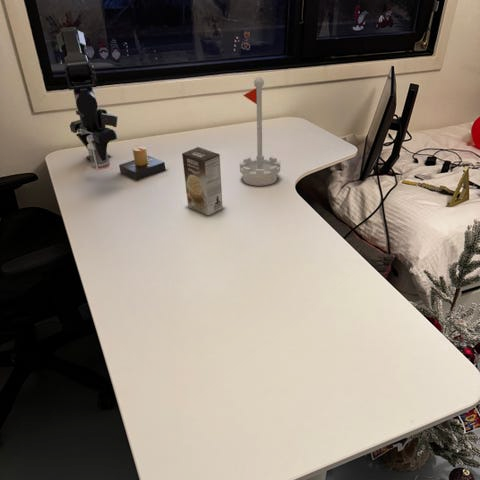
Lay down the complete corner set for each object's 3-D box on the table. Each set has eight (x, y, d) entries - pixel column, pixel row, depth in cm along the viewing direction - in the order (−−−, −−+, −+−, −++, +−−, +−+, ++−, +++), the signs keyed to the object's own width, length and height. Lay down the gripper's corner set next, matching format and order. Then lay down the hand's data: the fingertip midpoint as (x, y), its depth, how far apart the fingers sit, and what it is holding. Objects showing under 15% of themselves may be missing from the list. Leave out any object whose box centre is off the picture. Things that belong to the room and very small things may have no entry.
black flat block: (120, 173, 159) (118, 164, 157) (149, 163, 166) (147, 154, 164) (136, 180, 154) (135, 171, 152) (165, 170, 160) (164, 161, 158)
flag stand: (285, 174, 153) (288, 73, 134) (271, 189, 144) (271, 83, 125) (249, 169, 158) (247, 71, 139) (233, 183, 149) (228, 80, 130)
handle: (132, 163, 158) (129, 147, 155) (143, 159, 160) (140, 144, 157) (139, 166, 155) (137, 150, 152) (150, 162, 158) (148, 147, 154)
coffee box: (186, 207, 136) (180, 152, 126) (202, 200, 140) (197, 146, 130) (208, 216, 131) (203, 160, 121) (224, 208, 135) (220, 153, 125)
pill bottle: (112, 164, 152) (105, 133, 146) (107, 170, 148) (100, 139, 142) (95, 164, 153) (88, 133, 147) (89, 170, 149) (82, 139, 142)
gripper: (126, 106, 137) (136, 158, 147) (95, 96, 148) (105, 145, 158) (93, 114, 132) (105, 168, 142) (63, 103, 142) (76, 154, 152)
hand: (99, 158), depth 149 cm, fingers closed on pill bottle, 6 cm apart
